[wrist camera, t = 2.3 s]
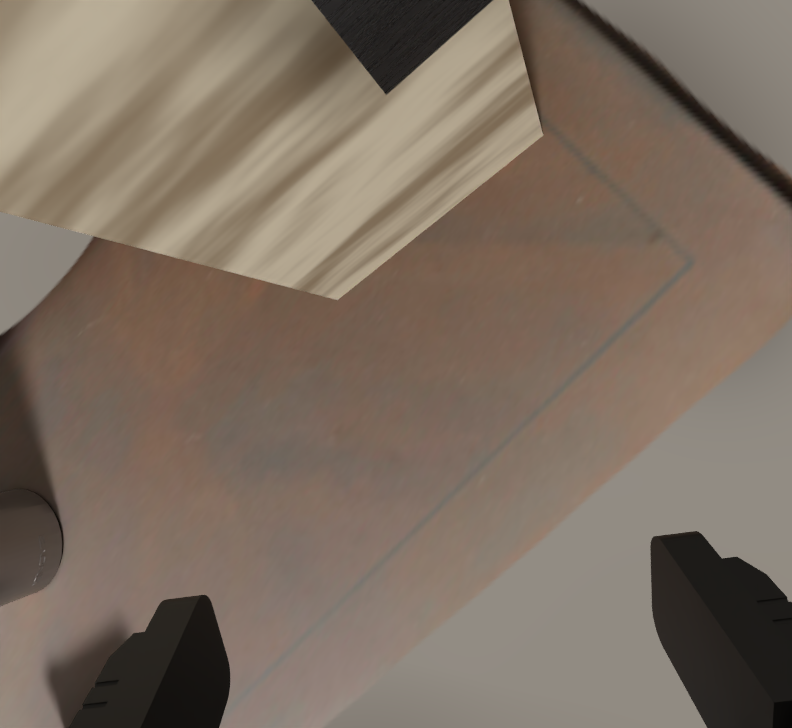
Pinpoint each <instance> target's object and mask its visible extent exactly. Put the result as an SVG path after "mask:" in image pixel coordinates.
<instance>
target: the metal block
mask: <svg viewBox="0 0 792 728" xmlns="http://www.w3.org/2000/svg"><path fill="white" fill-rule="evenodd" d="M492 1H493V0H312V2H313V3H314V4H315V5H316V7H317V8H318V9H319V10H320V12H321V13H322V14H323V15H324V17H325V18H326V19H327V21H328V22H329V23H330V24H331V26H332V27H333V28H334V29H335V31H336V32H337V33H338V34H339V36H340V37H341V38H342V40H343V41H344V42H345V43H346V45H347V46H348V47H349V48H350V50H351V51H352V52H353V53H354V55H355V56H356V57H357V59H358V60H359V61H360V62H361V64H362V65H363V66H364V67H365V69H366V70H367V71H368V72H369V74H370V75H371V76H372V78H373V79H374V80H375V81H376V83H377V84H378V85H379V86H380V88H381V89H382V90H383V91H384V93H385V94H386V95H387V94H388V93H389V92H390V91H392V90H393V89H394V88H395V87H396V86H397V85H398V84H399V83H401V82H402V81H403V80H404V79H405V78H406V77H407V76H408V75H410V74H411V73H412V72H413V71H414V70H415V69H416V68H417V67H419V66H420V65H421V64H422V63H423V62H424V61H425V60H426V59H428V58H429V57H430V56H431V55H432V54H433V53H434V52H435V51H437V50H438V49H439V48H440V47H441V46H442V45H443V44H444V43H446V42H447V41H448V40H449V39H450V38H451V37H452V36H454V35H455V34H456V33H457V32H458V31H459V30H460V29H461V28H463V27H464V26H465V25H466V24H467V23H468V22H469V21H470V20H472V19H473V18H474V17H475V16H476V15H477V14H478V13H479V12H481V11H482V10H483V9H484V8H485V7H486V6H487V5H488V4H490V3H491V2H492Z"/></svg>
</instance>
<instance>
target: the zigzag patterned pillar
mask: <svg viewBox="0 0 792 728" xmlns="http://www.w3.org/2000/svg"><path fill="white" fill-rule="evenodd" d="M542 136H543V133H542V129H541V125H540V121H539V117H538V113H537V109H536V105H535V101H534V97H533V93H532V90H531V86H530V82H529V78H528V74H527V70H526V66H525V62H524V58H523V54H522V50H521V47H520V43H519V39H518V35H517V31H516V27H515V23H514V19H513V15H512V11H511V7H510V4H509V0H493V1H492V2H491V3H490V4H488V5H487V6H486V7H485V8H484V9H483V10H482V11H481V12H479V13H478V14H477V15H476V16H475V17H474V18H473V19H472V20H470V21H469V22H468V23H467V24H466V25H465V26H464V27H463V28H461V29H460V30H459V31H458V32H457V33H456V34H455V35H454V36H452V37H451V38H450V39H449V40H448V41H447V42H446V43H444V44H443V45H442V46H441V47H440V48H439V49H438V50H437V51H435V52H434V53H433V54H432V55H431V56H430V57H429V58H428V59H426V60H425V61H424V62H423V63H422V64H421V65H420V66H419V67H417V68H416V69H415V70H414V71H413V72H412V73H411V74H410V75H408V76H407V77H406V78H405V79H404V80H403V81H402V82H401V83H399V84H398V85H397V86H396V87H395V88H394V89H393V90H392V91H390V92H389V93H388V94H387V95H386V94H385V93H384V91H383V90H382V89H381V88H380V86H379V85H378V84H377V83H376V81H375V80H374V79H373V78H372V76H371V75H370V74H369V72H368V71H367V70H366V69H365V67H364V66H363V65H362V64H361V62H360V61H359V60H358V59H357V57H356V56H355V55H354V53H353V52H352V51H351V50H350V48H349V47H348V46H347V45H346V43H345V42H344V41H343V40H342V38H341V37H340V36H339V34H338V33H337V32H336V31H335V29H334V28H333V27H332V26H331V24H330V23H329V22H328V21H327V19H326V18H325V17H324V15H323V14H322V13H321V12H320V10H319V9H318V8H317V7H316V5H315V4H314V3H313V2H312V0H0V212H4V213H7V214H11V215H15V216H19V217H23V218H26V219H31V220H34V221H38V222H42V223H45V224H49V225H53V226H57V227H61V228H65V229H68V230H73V231H76V232H80V233H84V234H87V235H91V236H95V237H99V238H103V239H107V240H110V241H114V242H118V243H122V244H126V245H129V246H133V247H137V248H141V249H145V250H149V251H152V252H156V253H160V254H164V255H168V256H171V257H175V258H179V259H183V260H187V261H191V262H194V263H198V264H202V265H206V266H210V267H213V268H217V269H221V270H225V271H229V272H232V273H236V274H240V275H244V276H248V277H252V278H255V279H259V280H263V281H267V282H271V283H274V284H278V285H282V286H286V287H290V288H294V289H297V290H301V291H305V292H309V293H313V294H316V295H320V296H324V297H328V298H332V299H336V300H338V299H339V298H341V297H342V296H343V295H344V294H346V293H347V292H348V291H349V290H351V289H352V288H353V287H354V286H356V285H357V284H358V283H359V282H361V281H362V280H363V279H364V278H366V277H367V276H368V275H369V274H371V273H372V272H373V271H374V270H376V269H377V268H378V267H379V266H381V265H382V264H383V263H384V262H386V261H387V260H388V259H389V258H391V257H392V256H393V255H394V254H396V253H397V252H398V251H399V250H401V249H402V248H403V247H404V246H406V245H407V244H408V243H409V242H411V241H412V240H413V239H414V238H416V237H417V236H418V235H419V234H421V233H422V232H423V231H424V230H426V229H427V228H428V227H429V226H431V225H432V224H433V223H434V222H436V221H437V220H438V219H439V218H441V217H442V216H443V215H444V214H446V213H447V212H448V211H449V210H451V209H452V208H453V207H454V206H456V205H457V204H458V203H459V202H461V201H462V200H463V199H464V198H466V197H467V196H468V195H469V194H471V193H472V192H473V191H474V190H476V189H477V188H478V187H479V186H481V185H482V184H483V183H484V182H486V181H487V180H488V179H489V178H491V177H492V176H493V175H494V174H496V173H497V172H498V171H499V170H501V169H502V168H503V167H504V166H506V165H507V164H508V163H509V162H511V161H512V160H513V159H514V158H516V157H517V156H518V155H519V154H521V153H522V152H523V151H524V150H526V149H527V148H528V147H529V146H531V145H532V144H533V143H534V142H536V141H537V140H538V139H539V138H541V137H542Z"/></svg>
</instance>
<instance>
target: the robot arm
mask: <svg viewBox="0 0 792 728" xmlns="http://www.w3.org/2000/svg"><path fill="white" fill-rule="evenodd" d="M61 556H62V537H61V531H60V527H59V524H58V521H57V519H56V516H55V514H54V512H53V511H52V509H51V508H50V506H49V505H48V504H47V502H45V501H44V500H43V499H42V498H41V497H40V496H39V495H37V494H35V493H33V492H31V491H28V490H25V489H14V490H9V491H4V492H0V606H3V605H5V604H8V603H10V602H13V601H15V600H18V599H20V598H23V597H26V596H28V595H31V594H33V593H36V592H38V591H40V590H42V589H43V588H44V587H46V586H47V585H48V584H49V583H50V582H51V580H52V579H53V577H54V576H55V574H56V572H57V570H58V567H59V564H60V560H61ZM651 582H652V611H653V618H654V622H655V627H656V630H657V633H658V636H659V639H660V641H661V643H662V646H663V648H664V649H665V651H666V653H667V655H668V657H669V658H670V660H671V662H672V664H673V666H674V668H675V670H676V671H677V673H678V675H679V677H680V679H681V680H682V682H683V684H684V686H685V688H686V689H687V691H688V693H689V695H690V697H691V699H692V701H693V702H694V704H695V706H696V708H697V710H698V711H699V713H700V715H701V717H702V719H703V721H704V722H705V724H706V726H707V728H792V602H788V600H787V597H786V596H785V595H784V593H783V592H782V591H781V590H780V589H779V588H778V587H777V586H776V585H775V583H774V582H773V581H772V580H771V579H770V578H769V577H768V576H767V575H766V574H765V573H763V572H761V571H760V570H758V569H757V568H755V567H753V566H752V565H750V564H748V563H746V562H745V561H743V560H742V559H740V558H738V557H731V558H723V559H722V558H721V557H720V556H719V555H718V554H717V552H716V551H715V550H714V549H713V547H712V546H711V545H710V544H709V543H708V541H707V540H706V539H705V538H704V536H703V535H702V534H701V533H699V532H697V531H695V532H686V533H678V534H671V535H662V536H655V537H653V538H652V541H651ZM229 689H230V667H229V662H228V658H227V654H226V651H225V647H224V644H223V641H222V637H221V634H220V630H219V627H218V623H217V620H216V617H215V613H214V610H213V606H212V603H211V601H210V599H209V598H208V596H206V595H199V596H191V597H183V598H176V599H168V600H164V601H162V602H161V603H160V605H159V606H158V608H157V610H156V612H155V614H154V616H153V617H152V619H151V621H150V623H149V625H148V627H147V629H146V631H145V632H141V633H134V634H133V635H132V636H131V637H130V638H129V639H128V640H127V641H126V642H125V643H124V644H123V645H122V646H121V647H120V648H118V649H117V650H116V651H115V652H114V653H113V654H112V655H111V656H110V658H109V659H108V661H107V663H106V665H105V666H104V668H103V670H102V672H101V673H100V675H99V677H98V679H97V680H96V682H95V688H92V689H91V691H90V692H89V694H88V696H87V698H86V699H85V701H84V703H83V709H82V710H79V712H78V713H77V715H76V717H75V719H74V720H73V722H72V724H71V725H70V727H69V728H219V726H220V723H221V720H222V716H223V713H224V710H225V707H226V704H227V700H228V696H229Z"/></svg>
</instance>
